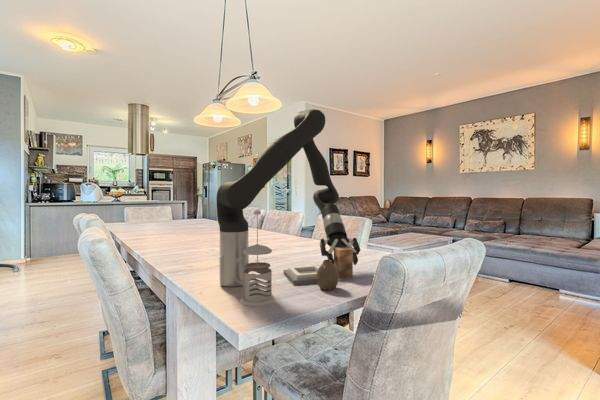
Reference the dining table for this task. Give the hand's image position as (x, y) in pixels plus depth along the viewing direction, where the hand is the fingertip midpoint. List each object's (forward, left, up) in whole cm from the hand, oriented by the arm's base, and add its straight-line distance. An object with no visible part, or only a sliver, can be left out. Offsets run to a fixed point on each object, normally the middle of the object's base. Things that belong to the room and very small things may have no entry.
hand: (344, 264), depth 108 cm
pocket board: (-12, +3, -5) cm, 14 cm away
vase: (-10, -10, -5) cm, 15 cm away
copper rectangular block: (0, +1, -5) cm, 5 cm away
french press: (-33, -14, -5) cm, 36 cm away
